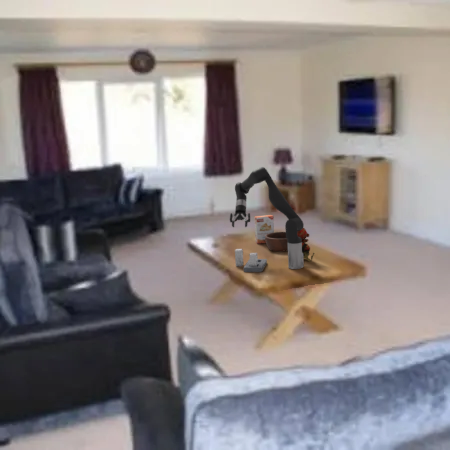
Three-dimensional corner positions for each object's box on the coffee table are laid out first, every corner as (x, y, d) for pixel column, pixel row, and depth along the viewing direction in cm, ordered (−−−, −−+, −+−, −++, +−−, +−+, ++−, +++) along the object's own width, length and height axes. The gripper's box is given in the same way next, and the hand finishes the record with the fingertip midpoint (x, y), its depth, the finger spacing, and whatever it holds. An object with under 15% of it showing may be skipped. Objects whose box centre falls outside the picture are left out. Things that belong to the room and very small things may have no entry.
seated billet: (251, 268, 445) (250, 252, 443) (258, 268, 444) (257, 252, 442) (250, 270, 441) (249, 254, 439) (256, 270, 440) (256, 254, 438)
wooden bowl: (299, 244, 508) (298, 231, 506) (299, 252, 483) (298, 238, 481) (266, 245, 510) (265, 232, 508) (264, 253, 486) (264, 239, 484)
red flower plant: (320, 258, 456) (311, 224, 449) (297, 266, 454) (288, 233, 447) (312, 252, 471) (303, 219, 464) (290, 260, 468) (281, 228, 461)
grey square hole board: (249, 263, 460) (249, 259, 459) (266, 263, 457) (266, 259, 457) (243, 271, 439) (243, 267, 438) (261, 271, 436) (261, 267, 436)
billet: (236, 264, 458) (236, 248, 456) (243, 264, 457) (242, 248, 455) (235, 266, 454) (234, 250, 452) (242, 266, 453) (241, 250, 451)
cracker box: (257, 244, 515) (256, 217, 511) (255, 242, 521) (254, 216, 517) (274, 242, 519) (273, 215, 515) (272, 240, 525) (271, 214, 521)
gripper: (230, 204, 467) (228, 224, 459) (250, 204, 465) (249, 223, 456) (231, 210, 473) (230, 229, 465) (251, 210, 471) (250, 229, 463)
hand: (239, 226), depth 461 cm, fingers open, 8 cm apart
